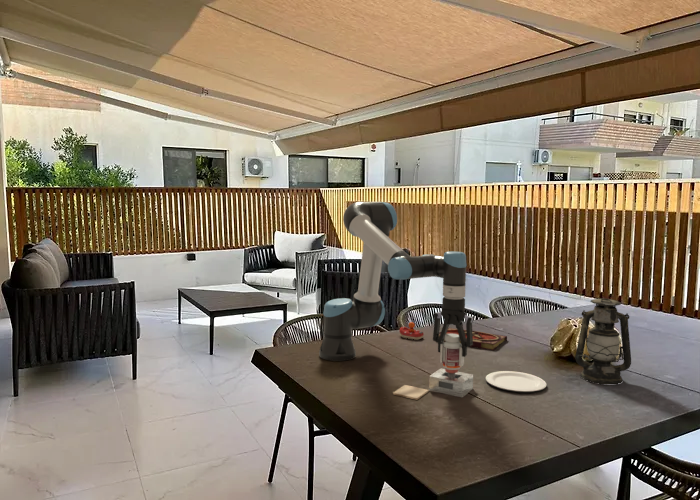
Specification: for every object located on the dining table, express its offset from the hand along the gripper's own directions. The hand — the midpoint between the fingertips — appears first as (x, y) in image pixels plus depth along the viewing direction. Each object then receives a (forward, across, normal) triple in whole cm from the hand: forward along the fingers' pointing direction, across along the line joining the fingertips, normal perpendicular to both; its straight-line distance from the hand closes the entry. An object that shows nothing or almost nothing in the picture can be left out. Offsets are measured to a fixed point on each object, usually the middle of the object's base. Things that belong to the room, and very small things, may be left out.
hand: (451, 363), depth 179 cm
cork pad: (+9, -10, -11) cm, 18 cm away
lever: (+8, 0, 0) cm, 8 cm away
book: (+10, -16, +65) cm, 68 cm away
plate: (+10, +17, +18) cm, 27 cm away
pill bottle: (+2, 0, 0) cm, 2 cm away
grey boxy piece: (+9, 0, 0) cm, 9 cm away
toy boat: (+9, -42, +54) cm, 69 cm away
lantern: (+9, +43, +40) cm, 59 cm away
